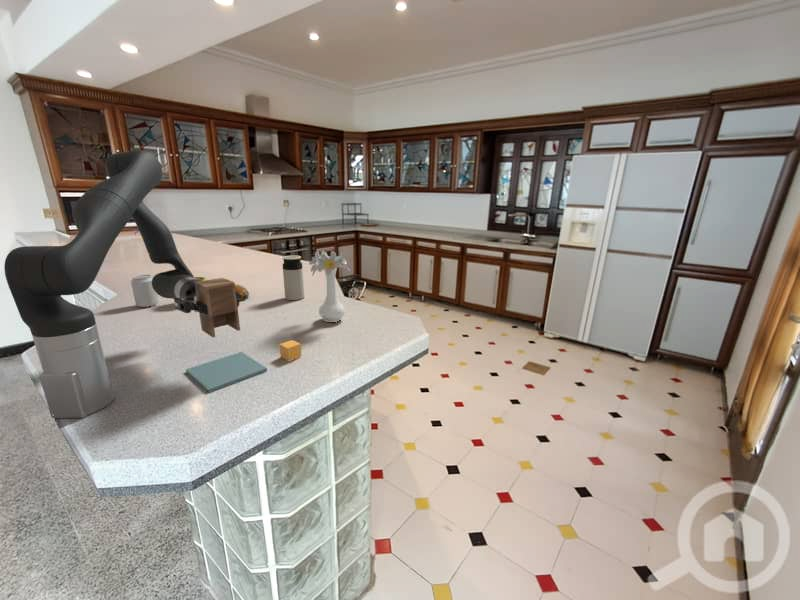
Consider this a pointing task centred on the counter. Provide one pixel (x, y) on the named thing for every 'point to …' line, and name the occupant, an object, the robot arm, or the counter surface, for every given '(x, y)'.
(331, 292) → the flower vase
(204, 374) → the teal mat
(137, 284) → the can
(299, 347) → the orange block
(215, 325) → the walnut cover
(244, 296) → the bread roll
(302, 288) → the travel mug
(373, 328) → the counter surface
